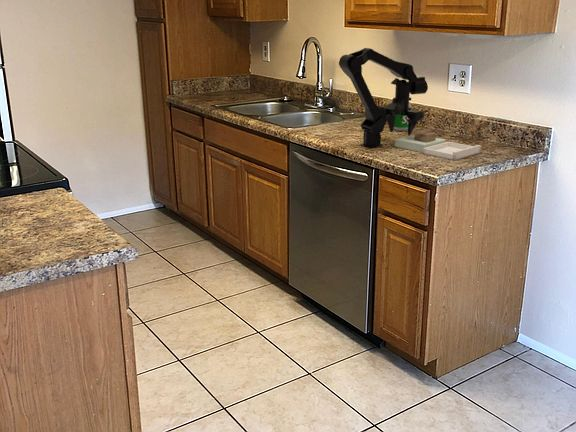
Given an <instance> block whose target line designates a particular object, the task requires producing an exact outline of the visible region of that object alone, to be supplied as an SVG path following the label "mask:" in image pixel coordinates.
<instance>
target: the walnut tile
mask: <svg viewBox="0 0 576 432" xmlns="http://www.w3.org/2000/svg"><path fill="white" fill-rule="evenodd" d="M413 135H414V140H416V141H421V142H426V143H427V142H431V141H435V140H436V138H437V133H436V132H434V131H428V130H422V131H417V132H414V134H413Z"/></svg>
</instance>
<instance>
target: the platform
mask: <svg viewBox="0 0 576 432" xmlns="http://www.w3.org/2000/svg"><path fill="white" fill-rule="evenodd" d="M445 142H447V139H445V138H439V137H436V140H435V141H431V142H427V143H426V142H421V141H416V140H414V134H411V135H407V136H402V137H398V138H394V147H396V148H400V149H404V150H409V151H414V152H419V153H422V148H426V147H430V146H433V145H437V144H441V143H445Z"/></svg>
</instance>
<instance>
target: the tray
mask: <svg viewBox="0 0 576 432" xmlns="http://www.w3.org/2000/svg"><path fill="white" fill-rule="evenodd" d="M481 149H482V145H480V144H477V145H467V144H463V143H457V142H452V141H446V142H445V143H441V144H437V145H433V146H430V147H426V148H422V152H421V154H423V155H427V156H432V157H438V158H442V159H446V160H451V161H457V160H461V159H465V158H468V157H471V156H475V155H478V154H481V151H482V150H481Z"/></svg>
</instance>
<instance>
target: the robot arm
mask: <svg viewBox="0 0 576 432" xmlns="http://www.w3.org/2000/svg"><path fill="white" fill-rule="evenodd" d="M338 60H339V61H338V66H339V68H340V69H341V70H342V72H343V73H344V74H345V75H346V76H347V77H348V78H349V79H350V80H351V83H352V85H353V87H354V89H355V91H356V94H357V95H358V97H359V100H360V101H361V104H362V105H363V108H364V117H365V119H364V120H363V122H361V124H360V127H361V130H362V131H363V140H362V141H363V142H362V143H360V146H362V147H365V148H366V147H367V148H372V149H373V148H378V147H383V143H382V142H381V141H382V139H381V138H382V135H381V133H383V132H384V130H385V129H384V128H385V125H386V124H387V125H388V128H389V131H390V133H393V132H394V130H395V129H394V123H395V117H396V114H399V115H405V116H407V117H408V118H409V119H407V121H408V130H407V136H410V135H412V133H413V130H415V127H416V125H417V124H418V122H419V121H421V120H422V119H424V118H425V113H424V111H423V110H418V109H413V110H412V107H411V108H409V103H410V101H412V97H410V95H425V94H426V93H427V92H428V89H429V86H428V83H427V80H426V77H425V76H417V75H416V73H415V71H414V67H413V65H411V64H410V63H405V62H401V61H396V60H395V59H392V58H390V57H388V56H387V55H384V54H382V53H380V52H378V51H376V50H374V49H373V48H369V47H364V48H362V49H359V50H357V51H355V52H352V53H349V54H343V55H341V57H340V58H339V59H338ZM368 61H370V62H372V63H373V64H376V65H378V66H380V67H382V68H385V69H386V70H388V71H389V72H390V73H391V74H393V76H395V78H394V79H393V80H392V81H391V82H390V84H391V85H395V92H394V93H395V95H394V97H393V98H392V101H391V102H390V103H388V104H387V105H386V106H380V105H377V103H376V101H375V99H374V97H373V95H372V93H371V90H370V89H369V86H368V84H367V83H366V81H365V78H364V76H363V74H362V72H363V67H362V66H364V65H365V64H367V62H368ZM400 78H401V79H400ZM410 110H411V111H410Z"/></svg>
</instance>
